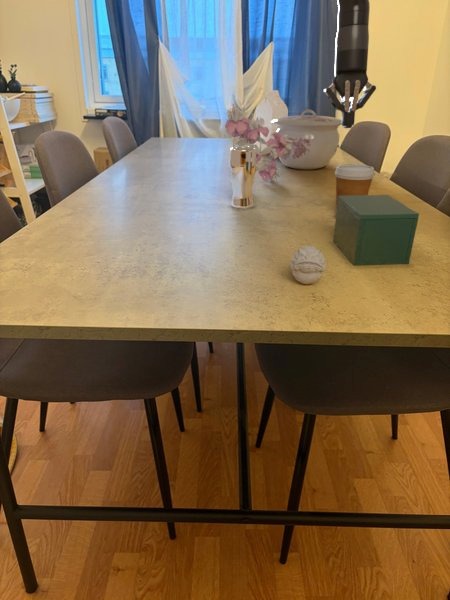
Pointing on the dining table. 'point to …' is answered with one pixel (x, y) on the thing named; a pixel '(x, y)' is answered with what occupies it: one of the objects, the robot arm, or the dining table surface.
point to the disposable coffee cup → (353, 180)
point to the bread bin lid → (377, 207)
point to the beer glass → (242, 175)
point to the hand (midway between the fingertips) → (347, 128)
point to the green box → (374, 238)
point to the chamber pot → (309, 139)
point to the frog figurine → (307, 265)
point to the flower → (251, 133)
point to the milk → (270, 114)
